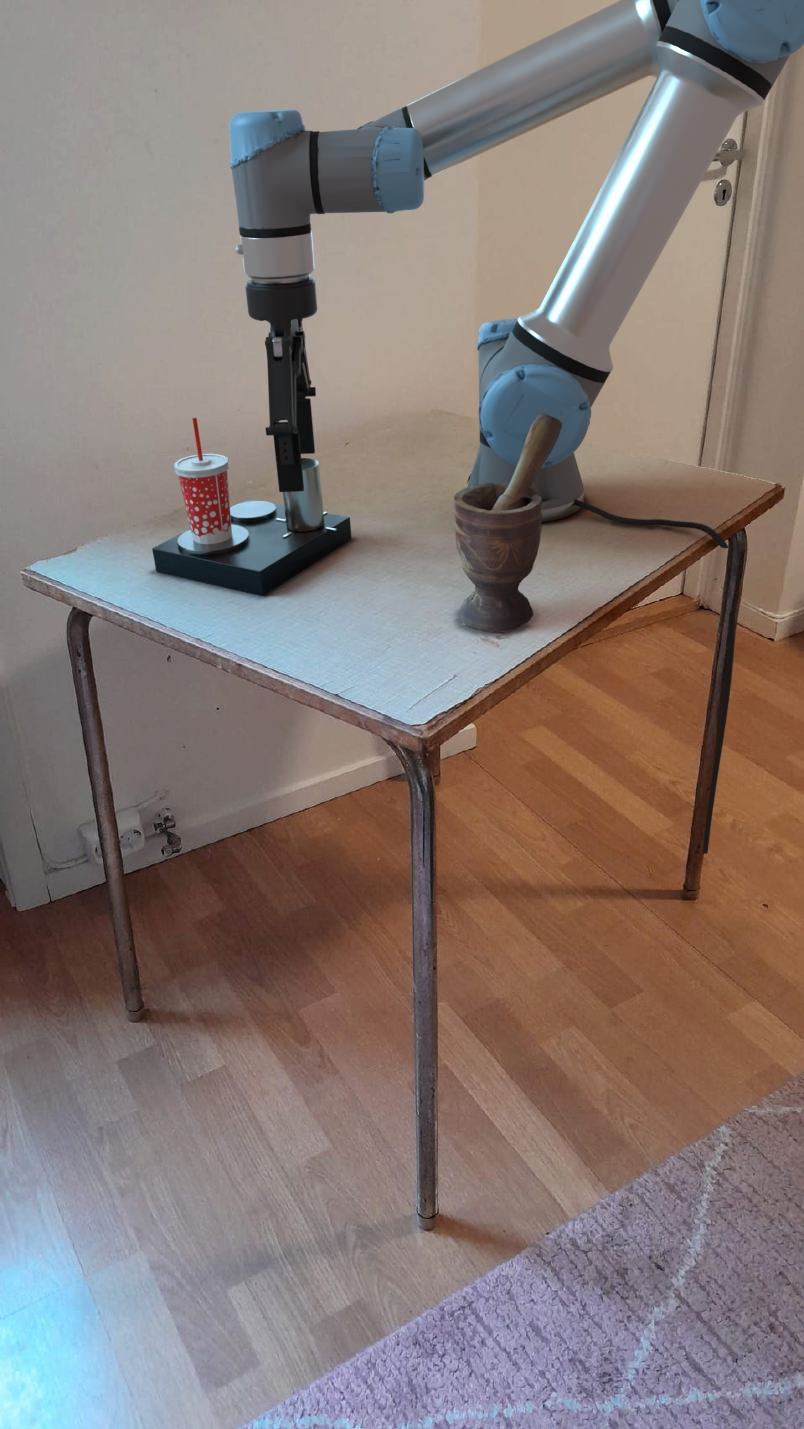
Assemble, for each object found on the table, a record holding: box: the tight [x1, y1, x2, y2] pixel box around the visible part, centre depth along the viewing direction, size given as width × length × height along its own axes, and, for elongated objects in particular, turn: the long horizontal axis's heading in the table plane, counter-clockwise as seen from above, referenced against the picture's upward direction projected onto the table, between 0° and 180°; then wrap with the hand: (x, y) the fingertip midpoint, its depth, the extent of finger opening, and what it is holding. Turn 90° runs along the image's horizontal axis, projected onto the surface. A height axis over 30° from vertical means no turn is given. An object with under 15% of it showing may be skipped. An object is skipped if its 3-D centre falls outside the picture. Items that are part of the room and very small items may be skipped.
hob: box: [151, 498, 353, 597], centre depth 125 cm, size 17×18×3 cm
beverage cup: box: [173, 416, 232, 544], centre depth 119 cm, size 6×6×14 cm
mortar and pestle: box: [452, 413, 562, 633], centre depth 105 cm, size 12×9×20 cm
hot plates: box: [177, 500, 277, 556], centre depth 126 cm, size 9×16×1 cm, turn 149°
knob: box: [282, 457, 325, 532], centre depth 124 cm, size 5×5×8 cm
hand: (298, 471), depth 122 cm, fingers open, 13 cm apart
